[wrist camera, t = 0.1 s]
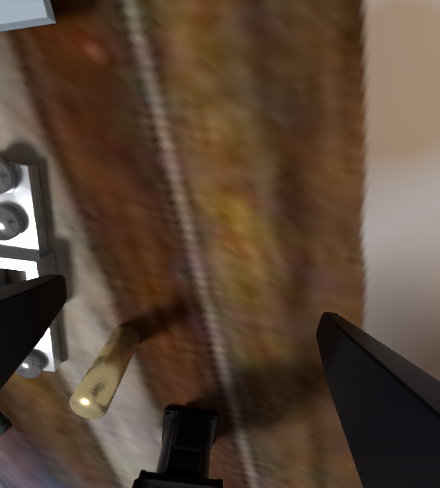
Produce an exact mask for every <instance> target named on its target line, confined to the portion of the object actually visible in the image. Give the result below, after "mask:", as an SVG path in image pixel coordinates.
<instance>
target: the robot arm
mask: <svg viewBox="0 0 440 488" xmlns="http://www.w3.org/2000/svg"><path fill="white" fill-rule="evenodd" d="M66 298H67V293H66V281H65V277H64V276H63V275H57V274H48V275H44V276H40V277H36V278H32V279H28V280H24V281H21V282H17V283H13V284H9V285H5V286H1V287H0V389H1V388H2V387H3V386H4V384H5V383H6V382H7V381H8V380H9V378H10V377H11V376H12V375H13V373H14V372H15V371H16V370H17V369H18V367H19V366H20V365H21V364H22V362H23V361H24V360H25V359H26V357H27V356H28V355H29V354H30V353H31V351H32V350H33V349H34V348H35V346H36V345H37V344H38V342H39V341H40V340H41V338H42V337H43V336H44V334H45V333H46V331H47V330H48V328H49V327H50V325H51V324H52V322H53V321H54V319H55V317H56V316H57V314H58V313H59V311H60V310H61V308H62V307H63V305H64V304H65V302H66ZM316 338H317V342H318V347H319V351H320V355H321V360H322V364H323V368H324V373H325V377H326V380H327V383H328V387H329V389H330V392H331V395H332V398H333V401H334V404H335V407H336V410H337V413H338V416H339V419H340V421H341V424H342V427H343V430H344V433H345V436H346V439H347V442H348V445H349V448H350V451H351V454H352V456H353V459H354V462H355V465H356V468H357V471H358V474H359V477H360V480H361V483H362V486H363V488H440V381H438V380H437V379H435V378H434V377H432V376H431V375H429V374H428V373H426V372H425V371H423V370H422V369H420V368H419V367H417V366H416V365H414V364H413V363H411V362H410V361H408V360H406V359H405V358H404V357H402V356H400V355H399V354H397V353H396V352H394V351H393V350H391V349H390V348H388V347H387V346H385V345H383V344H382V343H381V342H379V341H378V340H376V339H375V338H373V337H372V336H370V335H369V334H367V333H366V332H364V331H363V330H361V329H360V328H358V327H356V326H355V325H353V324H352V323H350V322H349V321H347V320H346V319H344V318H343V317H341V316H340V315H338V314H337V313H331V312H324V313H323V314H322V316H321V319H320V322H319V325H318V328H317V332H316ZM216 422H217V414H216V413H213V412H205V411H197V410H189V409H181V408H173V407H166V408H165V410H164V417H163V431H162V448H161V452H160V456H159V461H158V465H157V470H156V473H155V472H147V471H146V470H141V472H140V475H139V478H137V479H135V480H134V483H133V487H132V488H223V479H217V480H215V479H208V477H209V461H210V450H211V449H212V445H213V439H214V433H215V428H216Z"/></svg>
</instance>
